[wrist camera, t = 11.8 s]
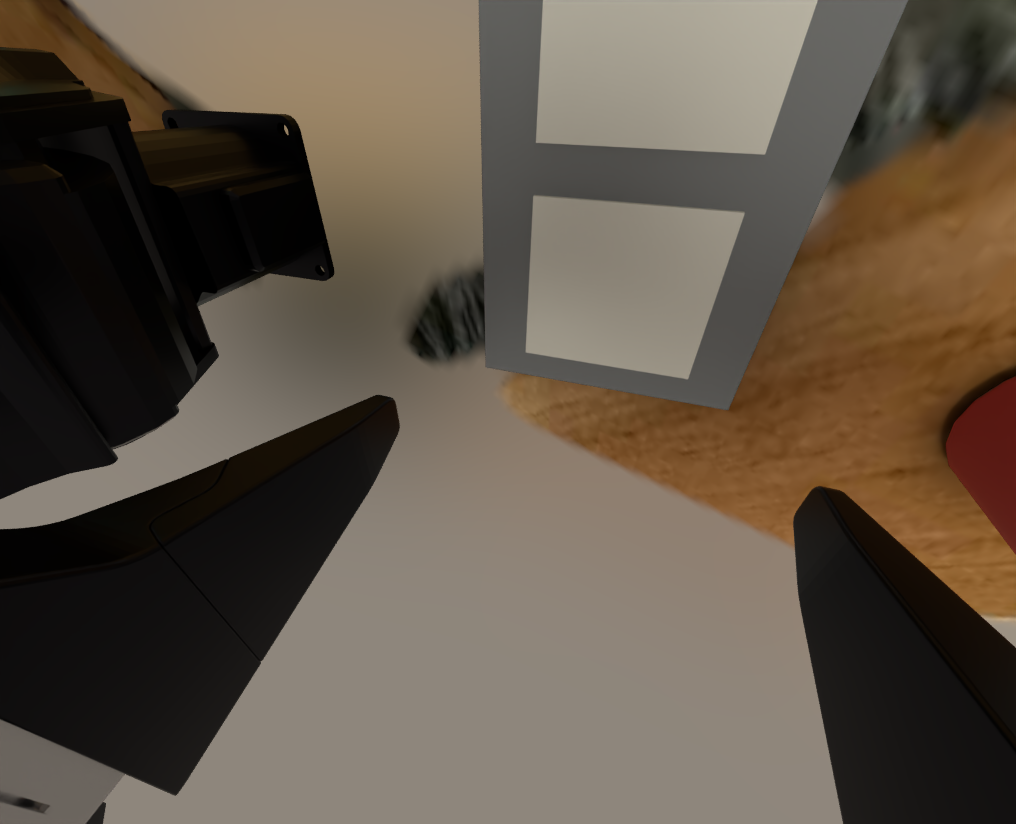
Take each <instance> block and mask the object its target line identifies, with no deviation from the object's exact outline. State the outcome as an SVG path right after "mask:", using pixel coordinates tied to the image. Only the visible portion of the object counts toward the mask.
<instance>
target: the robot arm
mask: <svg viewBox="0 0 1016 824" xmlns="http://www.w3.org/2000/svg"><path fill="white" fill-rule="evenodd" d="M162 120H163V124H164V126H165V129H163V130H151V131H138V132H131V129H130V126H129V124H128V121H131V119H130V116H129V113H128V111H127V108H126V105H125V103H124V100H123V98H121V97H117V96H113V95H108V94H104V93H99V92H94V91H91V90H90V88H88V87H85V85H84V83H83V81H82V80H78V78H77V77H76V76H75V75H74V74H73V73H72V72H71V71H70V70H69V69H68V68H67V67H66V65H65V64H64V63H63V62H62V61H61V60H60V59H59V58H58V57H57V56H56V55H55V54H54V53H52V52H47V51H42V50H37V49H22V48H6V47H0V499H2V498H4V497H7V496H9V495H11V494H14V493H16V492H18V491H20V490H23V489H25V488H27V487H29V486H33V485H36V484H39V483H42V482H45V481H48V480H51V479H54V478H57V477H60V476H63V475H66V474H69V473H74V472H79V471H84V470H89V469H94V468H99V467H104V466H108V465H111V464H113V463H115V462H116V461H117V459H118V457H117V455H116V454H115V452H114V451H113V449H116V448H118V447H121V446H124V445H127V444H129V443H131V442H133V441H135V440H137V439H139V438H141V437H143V436H145V435H146V434H148V433H150V432H153V431H155V430H156V429H158V428H159V427H161V426H162V425H164V424H165V423H167V422H168V421H170V420H171V419H173V418H174V417H175V416H176V415H177V414H178V412H179V408H178V406H177V405H178V403H179V402H180V401H181V400H182V399H183V398H184V396H185V395H186V394H187V393H188V392H189V391H190V389H191V388H192V387H193V386H194V385H195V384H196V382H197V381H198V380H199V379H200V378H201V377H202V375H203V374H204V373H205V372H206V371H207V370H208V368H209V367H210V366H211V365H212V364H213V363H214V361H215V360H216V359H217V358H218V356H219V354H218V352H217V349H216V346H215V344H214V343H213V342H211V340H210V338H209V335H208V332H207V330H206V327H205V324H204V322H203V319H202V317H201V314H200V311H199V309H198V306H200V305H202V304H204V303H206V302H208V301H211V300H213V299H215V298H217V297H219V296H221V295H224V294H226V293H228V292H230V291H232V290H234V289H237V288H239V287H241V286H243V285H245V284H247V283H250V282H252V281H254V280H256V279H258V278H260V277H262V276H265V275H267V274H269V273H271V274H278V275H285V276H293V277H300V278H306V279H313V280H320V281H326V280H328V279H330V278H331V277H333V275H334V267H333V262H332V259H331V254H330V250H329V246H328V243H327V239H326V234H325V230H324V225H323V222H322V217H321V213H320V210H319V205H318V201H317V197H316V193H315V188H314V185H313V180H312V176H311V172H310V168H309V164H308V160H307V156H306V152H305V147H304V143H303V139H302V135H301V131H300V128H299V126H298V124H297V122H296V121H295V119H294V118H292V117H291V116H289V115H286V114H265V113H240V112H217V111H194V110H166V111H164V112H163V114H162ZM177 125H178V126H177ZM284 125H285V126H286V127H287V129H288V133H289V135H287V134H286V132H285V130H284ZM320 266H321V267H322V268H323V269H324V271H325V272H323V271H322V269H321V267H320ZM399 428H400V425H399V419H398V413H397V408H396V403H395V401H394V399H393V398H391V397H387V396H382V395H375V396H373V397H370V398H368V399H366V400H363V401H361V402H359V403H356V404H354V405H352V406H349V407H347V408H345V409H343V410H341V411H338V412H336V413H333V414H331V415H329V416H326V417H324V418H322V419H319V420H317V421H314V422H312V423H310V424H307V425H305V426H303V427H300V428H298V429H296V430H293V431H291V432H289V433H286V434H284V435H282V436H280V437H277V438H274V439H272V440H270V441H268V442H265V443H263V444H261V445H258V446H256V447H254V448H251V449H249V450H247V451H244V452H242V453H239V454H237V455H235V456H233V457H230V458H229V460H227V459H225V460H223V461H220V462H218V463H216V464H214V465H211V466H209V467H207V468H204V469H202V470H199V471H197V472H194V473H192V474H189V475H187V476H185V477H182V478H180V479H177V480H174V481H172V482H169V483H166V484H164V485H161V486H159V487H156V488H153V489H151V490H148V491H145V492H142V493H139V494H137V495H134V496H131V497H128V498H126V499H123V500H120V501H117V502H115V503H112V504H109V505H106V506H104V507H101V508H98V509H96V510H93V511H90V512H87V513H85V514H82V515H79V516H76V517H73V518H70V519H67V520H64V521H60V522H56V523H52V524H48V525H43V526H37V527H29V528H19V529H0V824H103V819H104V813H105V807H106V803H104V802H103V801H104V800H105V799H106V797H107V796H108V795H109V794H110V792H111V791H112V790H113V788H114V787H115V786H116V785H117V784H118V782H119V781H120V780H121V778H122V777H123V776H124V775H125V774H126V775H129V776H131V777H133V778H135V779H138V780H140V781H142V782H145V783H147V784H149V785H152V786H154V787H156V788H158V789H161V790H163V791H165V792H167V793H170V794H172V795H175V796H176V795H177V794H178V793H179V791H180V790H181V788H182V787H183V786H184V784H185V783H186V781H187V780H188V778H189V776H190V775H191V773H192V772H193V770H194V769H195V767H196V765H197V764H198V762H199V761H200V759H201V757H202V756H203V754H204V753H205V751H206V750H207V748H208V746H209V745H210V743H211V742H212V740H213V738H214V737H215V735H216V734H217V732H218V730H219V729H220V727H221V726H222V724H223V723H224V721H225V719H226V718H227V716H228V715H229V713H230V712H231V710H232V708H233V707H234V705H235V703H236V702H237V700H238V699H239V697H240V696H241V694H242V693H243V691H244V689H245V688H246V686H247V685H248V683H249V681H250V680H251V678H252V676H253V675H254V673H255V672H256V670H257V669H258V667H259V666H260V664H261V661H262V660H263V659H264V657H265V656H266V654H267V652H268V651H269V649H270V647H271V646H272V644H273V643H274V641H275V640H276V638H277V637H278V635H279V633H280V632H281V630H282V629H283V627H284V625H285V624H286V622H287V621H288V619H289V618H290V616H291V614H292V613H293V611H294V610H295V608H296V606H297V605H298V603H299V602H300V600H301V599H302V597H303V595H304V594H305V592H306V591H307V589H308V587H309V586H310V584H311V583H312V581H313V579H314V578H315V576H316V575H317V573H318V572H319V570H320V568H321V567H322V565H323V564H324V562H325V560H326V559H327V557H328V556H329V554H330V553H331V551H332V549H333V548H334V546H335V544H336V543H337V541H338V540H339V538H340V537H341V535H342V533H343V532H344V530H345V529H346V527H347V526H348V524H349V522H350V521H351V519H352V517H353V516H354V514H355V513H356V511H357V510H358V508H359V507H360V505H361V503H362V502H363V500H364V499H365V497H366V495H367V494H368V492H369V490H370V489H371V487H372V486H373V484H374V482H375V480H376V478H377V476H378V474H379V472H380V470H381V468H382V466H383V463H384V462H385V460H386V457H387V455H388V453H389V451H390V449H391V447H392V445H393V443H394V441H395V439H396V437H397V435H398V432H399ZM793 527H794V542H795V557H796V571H797V585H798V595H799V601H800V607H801V613H802V617H803V623H804V628H805V633H806V638H807V643H808V648H809V653H810V658H811V663H812V668H813V673H814V678H815V684H816V689H817V693H818V698H819V704H820V709H821V714H822V719H823V724H824V729H825V734H826V739H827V744H828V749H829V754H830V760H831V765H832V769H833V775H834V780H835V785H836V790H837V795H838V799H839V805H840V810H841V815H842V820H843V824H1016V648H1015V647H1014V646H1013V645H1012V644H1011V643H1010V642H1009V641H1008V640H1007V639H1006V638H1004V637H1003V636H1002V635H1001V634H1000V633H999V632H998V631H997V630H996V629H994V628H993V627H992V626H991V625H990V624H989V623H988V622H987V621H986V620H985V619H983V618H982V617H981V616H980V615H979V614H978V613H977V612H976V611H975V610H973V609H972V608H971V607H970V606H969V605H968V604H967V603H966V602H965V601H963V600H962V599H961V598H960V597H959V596H958V595H957V594H956V593H955V592H954V591H952V590H951V589H950V588H949V587H948V586H947V585H946V584H945V583H944V582H942V581H941V580H940V579H939V578H938V577H937V576H936V575H935V574H934V573H933V572H931V571H930V570H929V569H928V568H927V567H926V566H925V565H924V564H923V563H921V562H920V561H919V560H918V559H917V558H916V557H915V556H914V555H913V554H911V553H910V552H909V551H908V550H907V549H906V548H905V547H904V546H903V545H902V544H900V543H899V542H898V541H897V540H896V539H895V538H894V537H893V536H892V535H890V534H889V533H888V532H887V531H886V530H885V529H884V528H883V527H882V526H881V525H879V524H878V523H877V522H876V521H875V520H874V519H873V518H872V517H871V516H869V515H868V514H867V513H866V512H865V511H864V510H863V509H862V508H861V507H859V506H858V505H857V504H856V503H855V502H854V501H853V500H852V499H851V498H850V497H848V496H847V495H846V494H845V493H844V492H842V491H840V490H836V489H831V488H827V487H822V486H818V487H815V488H813V489H812V490H811V492H810V493H809V494H808V496H807V497H806V499H805V500H804V501H803V503H802V504H801V506H800V507H799V509H798V510H797V511H796V513H795V516H794V521H793Z"/></svg>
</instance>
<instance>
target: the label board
mask: <svg viewBox="0 0 1016 824" xmlns="http://www.w3.org/2000/svg"><path fill="white" fill-rule="evenodd" d="M907 2H908V0H479V39H480V40H479V41H480V92H481V93H480V94H481V145H482V197H483V251H484V303H485V355H486V367H487V368H493V369H499V370H504V371H510V372H515V373H521V374H527V375H532V376H538V377H544V378H549V379H555V380H560V381H566V382H572V383H577V384H583V385H589V386H594V387H600V388H606V389H611V390H617V391H622V392H628V393H634V394H639V395H645V396H651V397H656V398H662V399H667V400H673V401H679V402H684V403H690V404H696V405H701V406H707V407H712V408H718V409H724V410H728V409H729V407H730V405H731V402H732V400H733V398H734V396H735V393H736V391H737V389H738V387H739V384H740V382H741V380H742V377H743V375H744V373H745V371H746V368H747V366H748V364H749V361H750V359H751V357H752V355H753V352H754V350H755V348H756V346H757V343H758V341H759V339H760V336H761V334H762V332H763V330H764V327H765V325H766V323H767V320H768V318H769V316H770V314H771V311H772V309H773V307H774V305H775V302H776V300H777V298H778V295H779V293H780V291H781V289H782V286H783V284H784V282H785V280H786V277H787V275H788V273H789V270H790V268H791V266H792V264H793V261H794V259H795V257H796V254H797V252H798V250H799V248H800V245H801V243H802V241H803V239H804V236H805V234H806V232H807V229H808V227H809V225H810V223H811V220H812V218H813V216H814V213H815V211H816V209H817V207H818V204H819V202H820V200H821V198H822V195H823V193H824V191H825V188H826V186H827V184H828V182H829V179H830V177H831V175H832V172H833V170H834V168H835V166H836V163H837V161H838V159H839V157H840V154H841V152H842V150H843V147H844V145H845V143H846V141H847V138H848V136H849V134H850V131H851V129H852V127H853V125H854V122H855V120H856V118H857V116H858V113H859V111H860V109H861V106H862V104H863V102H864V100H865V97H866V95H867V93H868V90H869V88H870V86H871V84H872V81H873V79H874V77H875V75H876V72H877V70H878V68H879V65H880V63H881V61H882V59H883V56H884V54H885V52H886V49H887V47H888V45H889V43H890V40H891V38H892V36H893V34H894V31H895V29H896V27H897V24H898V22H899V20H900V18H901V15H902V13H903V11H904V8H905V6H906V4H907Z"/></svg>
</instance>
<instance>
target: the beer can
mask: <svg viewBox="0 0 1016 824" xmlns="http://www.w3.org/2000/svg"><path fill="white" fill-rule="evenodd" d="M946 452H947V458H948V464H949V466H950V468H951V469H952V470H953V472H954V473H955V474H956V476H957V477H958V478H959V480H960V481H961V482H962V484H963V485H964V486H965V488H966V489H967V490H968V492H969V493H970V494H971V496H972V497H973V498H974V500H975V501H976V502H977V504H978V505H979V506H980V508H981V509H982V510H983V512H984V513H985V514H986V516H987V517H988V518H989V520H990V521H991V522H992V524H993V525H994V526H995V528H996V529H997V530H998V532H999V533H1000V534H1001V536H1002V537H1003V538H1004V540H1005V541H1006V542H1007V544H1008V545H1009V546H1010V548H1011V549H1012V550H1013V552H1014V553H1015V554H1016V376H1015V377H1012V378H1010V379H1007V380H1005V381H1004V382H1002V383H1000V384H999V385H997V386H996V387H994V388H993V389H991V390H990V391H988V392H986V393H985V394H983V395H982V396H980V397H979V398H977V399H976V400H975V401H974V402H973V403H972V404H971V405H970V406H969V407H968V408H967V409H966V410H965V411H964V412H963V414H962V415H961V416H960V417H959V418H958V419H957V420H956V421H955V422H954V424H953V427H952V429H951V432H950V434H949V437H948V439H947V442H946Z"/></svg>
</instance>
